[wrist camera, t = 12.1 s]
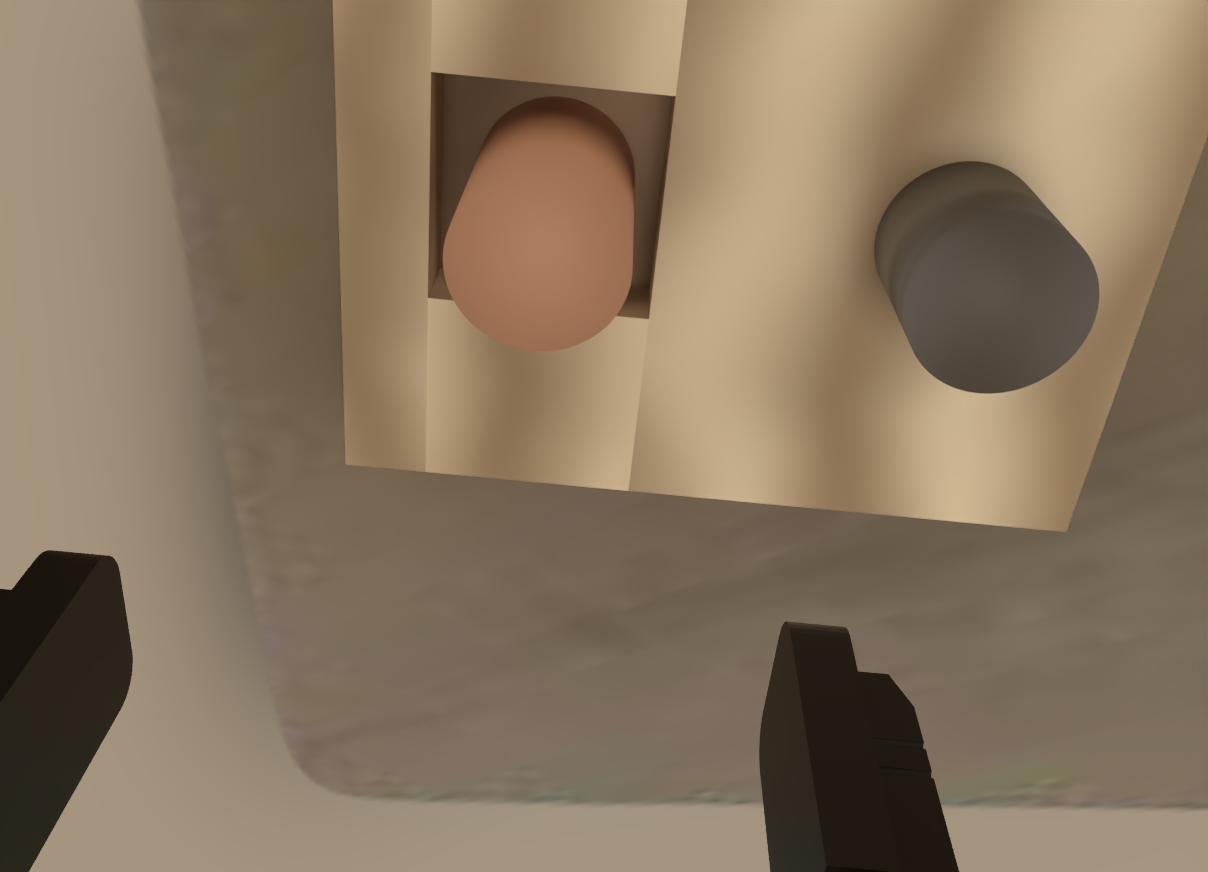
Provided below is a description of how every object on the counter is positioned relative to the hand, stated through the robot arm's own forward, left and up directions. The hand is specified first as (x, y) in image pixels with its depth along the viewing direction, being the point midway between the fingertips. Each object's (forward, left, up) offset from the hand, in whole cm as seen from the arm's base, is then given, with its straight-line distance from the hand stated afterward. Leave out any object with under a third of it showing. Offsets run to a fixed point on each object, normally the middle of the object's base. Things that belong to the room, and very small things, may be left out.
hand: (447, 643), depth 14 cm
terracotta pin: (0, 0, -18) cm, 18 cm away
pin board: (-5, 0, -19) cm, 20 cm away
